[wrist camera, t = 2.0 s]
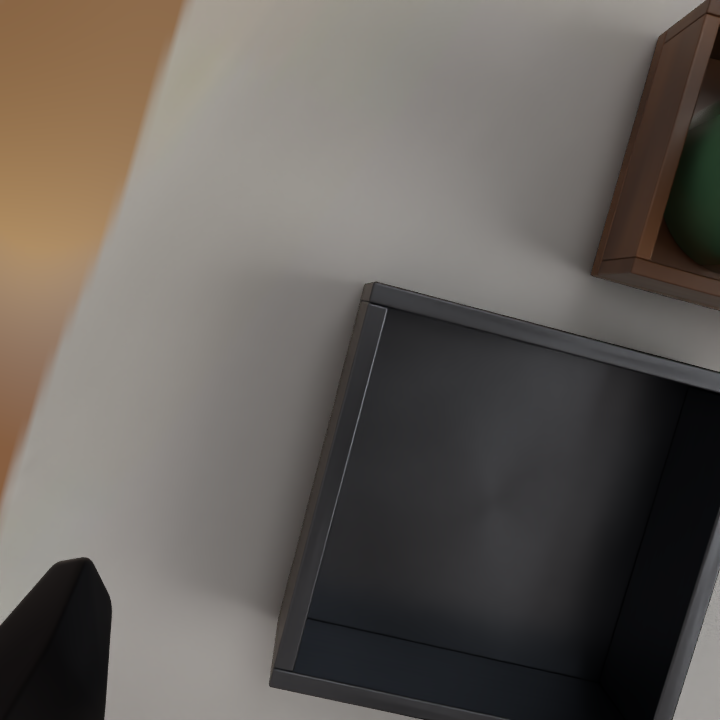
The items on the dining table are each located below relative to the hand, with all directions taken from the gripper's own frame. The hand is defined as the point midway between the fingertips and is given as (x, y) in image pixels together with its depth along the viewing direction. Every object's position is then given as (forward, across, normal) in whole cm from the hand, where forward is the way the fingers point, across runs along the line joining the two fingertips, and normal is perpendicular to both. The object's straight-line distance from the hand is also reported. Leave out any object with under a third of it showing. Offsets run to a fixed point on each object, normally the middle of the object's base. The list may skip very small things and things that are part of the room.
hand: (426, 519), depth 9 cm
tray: (+10, -4, +10) cm, 15 cm away
